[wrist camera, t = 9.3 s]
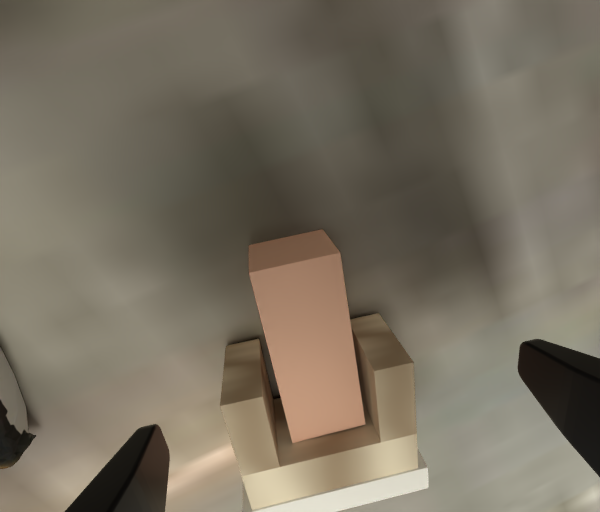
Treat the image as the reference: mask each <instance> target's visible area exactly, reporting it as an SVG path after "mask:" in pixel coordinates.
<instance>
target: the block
mask: <svg viewBox="0 0 600 512" xmlns="http://www.w3.org/2000/svg"><path fill="white" fill-rule="evenodd" d="M350 322H351V329H352V336H353V343H354V350H355V356H356V363H357V370H358V377H359V384H360V390H361V397H362V404H363V411H364V418H365V425H361V426H357V427H354V428H350V429H346V430H342V431H338V432H334V433H330V434H326V435H323V436H319V437H315V438H311V439H307V440H303V441H299V442H296V443H292V439H291V435H290V431H289V428H288V424H287V420H286V416H285V412H284V408H283V404H282V400H281V398H278V399H274V400H273V396H272V392H271V387H270V383H269V379H268V375H267V370H266V366H265V362H264V358H263V353H262V349H261V345H260V340H259V339H256V340H251V341H246V342H242V343H237V344H232V345H228V346H226V351H225V361H224V371H223V381H222V392H221V402H220V408H221V411H222V414H223V417H224V421H225V424H226V427H227V430H228V434H229V437H230V440H231V443H232V447H233V450H234V453H235V456H236V460H237V463H238V466H239V469H240V473H241V476H242V479H243V482H244V486H245V489H246V492H247V495H248V499H249V502H250V505H251V508H252V510H254V509H258V508H262V507H266V506H270V505H274V504H278V503H282V502H286V501H290V500H293V499H297V498H301V497H305V496H309V495H313V494H317V493H321V492H325V491H329V490H333V489H337V488H341V487H345V486H349V485H353V484H357V483H361V482H365V481H369V480H373V479H377V478H381V477H385V476H389V475H393V474H397V473H400V472H404V471H408V470H412V469H416V468H418V454H417V430H416V407H415V383H414V362H413V361H412V359H411V358H410V357H409V355H408V354H407V352H406V351H405V349H404V348H403V347H402V345H401V344H400V342H399V341H398V340H397V338H396V337H395V335H394V334H393V333H392V331H391V330H390V328H389V327H388V326H387V324H386V323H385V321H384V320H383V319H382V317H381V316H380V314H379V313H377V314H373V315H368V316H363V317H359V318H354V319H350Z"/></svg>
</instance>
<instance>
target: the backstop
mask: <svg viewBox="0 0 600 512" xmlns="http://www.w3.org/2000/svg"><path fill="white" fill-rule="evenodd" d="M417 454H418V468H416V469H412V470H408V471H404V472H400V473H397V474H393V475H389V476H385V477H381V478H377V479H373V480H369V481H365V482H361V483H357V484H353V485H349V486H345V487H341V488H337V489H333V490H329V491H325V492H321V493H317V494H313V495H309V496H305V497H301V498H297V499H293V500H290V501H286V502H282V503H278V504H274V505H270V506H266V507H262V508H258V509H254V510H252V508H251V505H250V502H249V499H248V495H247V492H246V489H245V486H244V482H243V506H242V512H337V511H341V510H344V509H348V508H352V507H356V506H360V505H364V504H368V503H372V502H375V501H379V500H383V499H387V498H391V497H395V496H399V495H403V494H407V493H410V492H414V491H418V490H422V489H426V488H428V467H427V465H426V463H425V461H424V459H423V457H422V456H421V454H420V452H419V450H418V448H417Z"/></svg>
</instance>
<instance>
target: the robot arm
mask: <svg viewBox="0 0 600 512" xmlns="http://www.w3.org/2000/svg"><path fill="white" fill-rule="evenodd" d="M518 372H519V375H520V377H521V379H522V380H523V382H524V383H525V384H526V386H527V387H528V388H529V390H530V391H531V392H532V394H533V395H534V396H535V398H536V399H537V401H538V402H539V403H540V405H541V406H542V407H543V409H544V410H545V411H546V413H547V414H548V416H549V417H550V418H551V420H552V421H553V422H554V424H555V425H556V426H557V428H558V429H559V430H560V431H561V433H562V434H563V435H564V436H565V438H566V439H567V440H568V441H569V442H570V444H571V445H572V446H573V447H574V448H575V449H576V450H577V452H578V453H579V454H580V455H581V456H582V457H583V458H584V460H585V461H586V462H587V463H588V464H589V465H590V466H591V468H592V469H593V470H594V471H595V472H596V473H597V474H598V476H599V477H600V358H596V357H593V356H590V355H587V354H584V353H581V352H578V351H575V350H572V349H569V348H566V347H563V346H559V345H556V344H553V343H550V342H547V341H544V340H541V339H534V340H529V341H525V342H523V343H522V344H521V345H520V350H519V360H518ZM169 461H170V455H169V449H168V446H167V444H166V441H165V439H164V436H163V434H162V431H161V429H160V427H159V426H158V425H157V424H153V425H149V426H144V427H141V428H139V429H138V430H136V432H135V433H134V434H133V435H132V436H131V437H130V438H129V439H128V441H127V442H126V443H125V444H124V445H123V446H122V447H121V448H120V450H119V451H118V452H117V453H116V454H115V455H114V456H113V458H112V459H111V460H110V461H109V462H108V463H107V464H106V465H105V467H104V468H103V469H102V470H101V471H100V472H99V473H98V475H97V476H96V477H95V478H94V479H93V480H92V481H91V482H90V484H89V485H88V486H87V487H86V488H85V489H84V490H83V491H82V493H81V494H80V495H79V496H78V497H77V498H76V499H75V501H74V502H73V503H72V504H71V505H70V506H69V507H68V508H67V510H66V511H65V512H165V505H166V494H167V483H168V472H169Z"/></svg>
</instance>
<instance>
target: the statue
mask: <svg viewBox="0 0 600 512" xmlns="http://www.w3.org/2000/svg"><path fill="white" fill-rule="evenodd" d="M35 437H36V435H33V434H31V433H29V432H28V422H27V412H26V405H25V403H24V400H23V397H22V395H21V392H20V389H19V386H18V384H17V381H16V378H15V375H14V373H13V371H12V369H11V367H10V365H9V363H8V361H7V359H6V357H5V355H4V353H3V351H2V349H1V347H0V469H5V468H8V467H11V466H13V465H14V464H15V463H16V462H17V461H18V460H19V459H20V457H21V456H22V454H23V452H24V451H25V450H26V449H27V448H28V446H29V445H30V444H31V442H32V440H33V439H34V438H35Z"/></svg>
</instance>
